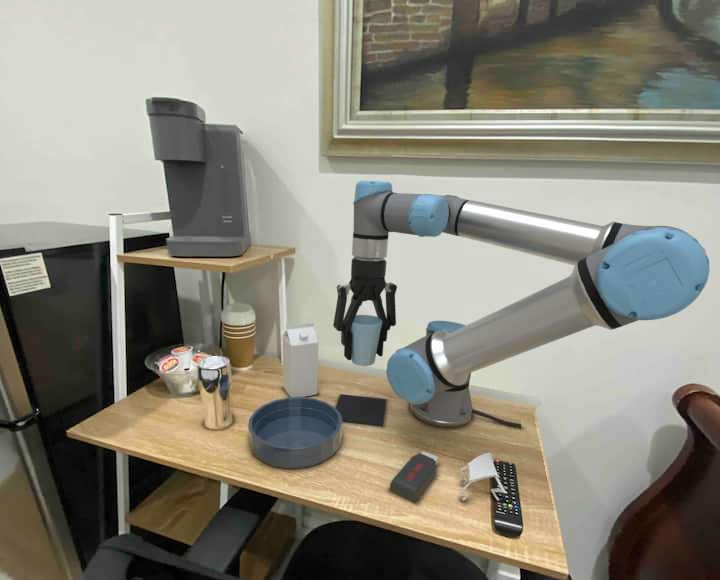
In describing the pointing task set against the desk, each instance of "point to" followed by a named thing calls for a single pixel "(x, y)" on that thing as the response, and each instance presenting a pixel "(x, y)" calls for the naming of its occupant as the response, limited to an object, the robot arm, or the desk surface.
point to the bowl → (295, 432)
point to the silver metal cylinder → (215, 390)
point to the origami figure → (481, 473)
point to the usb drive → (415, 476)
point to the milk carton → (300, 360)
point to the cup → (365, 339)
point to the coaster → (361, 409)
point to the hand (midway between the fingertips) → (363, 355)
